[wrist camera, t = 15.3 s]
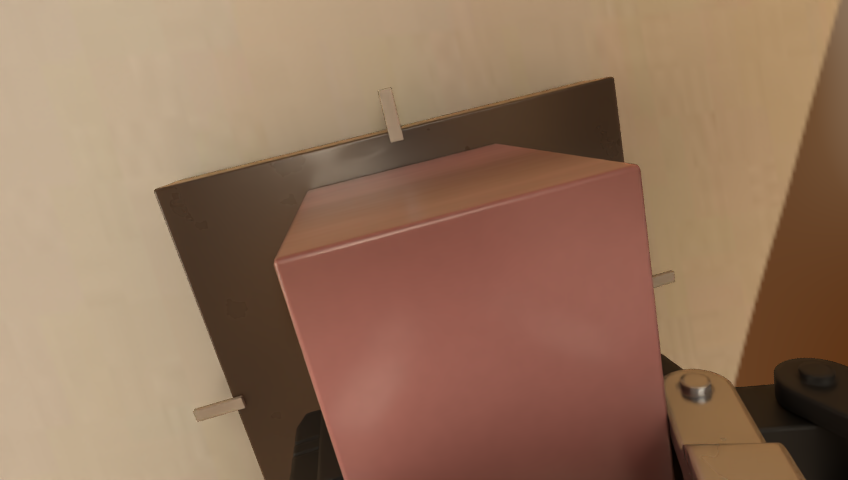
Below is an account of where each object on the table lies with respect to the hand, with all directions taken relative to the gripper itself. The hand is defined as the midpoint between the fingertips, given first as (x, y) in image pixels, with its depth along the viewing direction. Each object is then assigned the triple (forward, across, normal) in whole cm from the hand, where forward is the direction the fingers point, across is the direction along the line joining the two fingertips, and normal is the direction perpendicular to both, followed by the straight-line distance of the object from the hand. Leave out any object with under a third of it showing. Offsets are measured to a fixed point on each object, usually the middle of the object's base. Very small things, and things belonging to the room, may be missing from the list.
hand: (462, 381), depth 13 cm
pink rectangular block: (+2, 0, 0) cm, 2 cm away
